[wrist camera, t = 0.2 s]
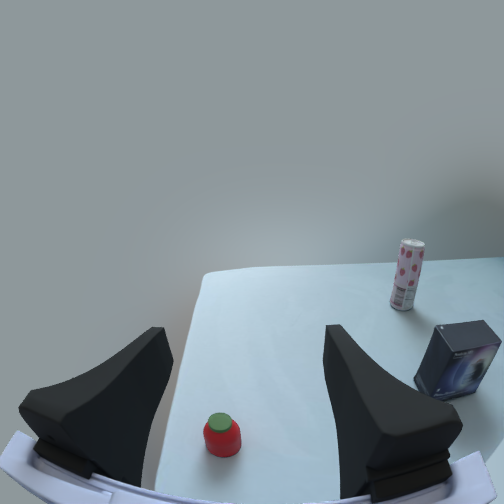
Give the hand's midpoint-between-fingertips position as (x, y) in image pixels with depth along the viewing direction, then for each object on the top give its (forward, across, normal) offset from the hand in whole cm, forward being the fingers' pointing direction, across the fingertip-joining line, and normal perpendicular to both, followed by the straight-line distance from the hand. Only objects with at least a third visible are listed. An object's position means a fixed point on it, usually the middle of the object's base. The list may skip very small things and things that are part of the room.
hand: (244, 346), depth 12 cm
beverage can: (+42, -30, +26) cm, 58 cm away
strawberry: (+8, +5, +23) cm, 25 cm away
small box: (+15, -28, +25) cm, 40 cm away
